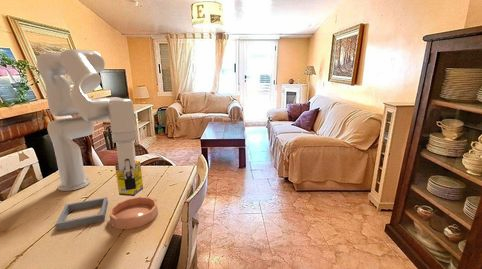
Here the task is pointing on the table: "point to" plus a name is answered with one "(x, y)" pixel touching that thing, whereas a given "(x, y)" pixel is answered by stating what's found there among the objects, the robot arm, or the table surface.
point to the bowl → (133, 212)
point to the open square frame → (82, 221)
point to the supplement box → (122, 183)
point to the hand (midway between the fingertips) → (131, 183)
